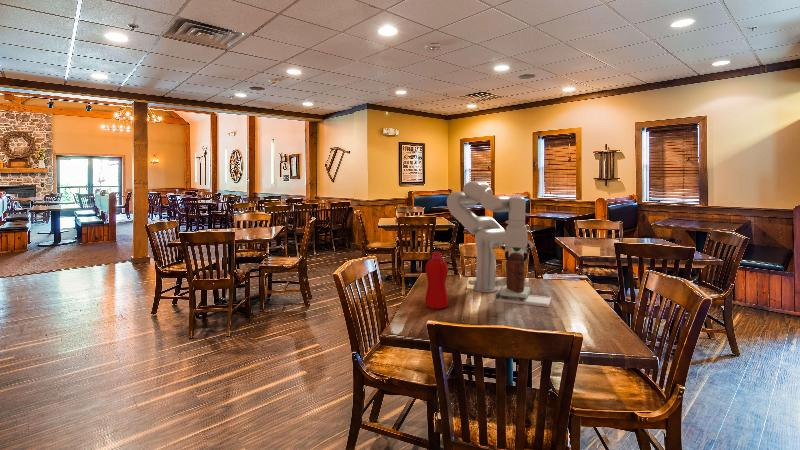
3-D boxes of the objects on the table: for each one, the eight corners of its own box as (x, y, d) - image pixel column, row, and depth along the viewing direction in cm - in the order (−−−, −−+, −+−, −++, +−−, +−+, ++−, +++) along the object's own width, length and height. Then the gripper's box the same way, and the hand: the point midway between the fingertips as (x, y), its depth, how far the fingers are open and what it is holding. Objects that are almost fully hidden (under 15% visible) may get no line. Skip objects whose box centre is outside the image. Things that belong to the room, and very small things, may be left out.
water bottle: (435, 311, 195) (435, 255, 192) (422, 305, 205) (422, 251, 202) (452, 308, 199) (453, 253, 196) (439, 302, 209) (439, 249, 206)
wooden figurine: (528, 292, 208) (529, 254, 206) (516, 293, 206) (517, 255, 204) (514, 285, 219) (515, 249, 217) (502, 286, 217) (504, 250, 215)
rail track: (495, 300, 211) (495, 293, 210) (500, 294, 223) (500, 287, 222) (548, 306, 201) (548, 299, 201) (551, 299, 213) (551, 292, 213)
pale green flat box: (499, 298, 209) (499, 291, 209) (505, 291, 222) (505, 284, 222) (525, 301, 205) (526, 294, 204) (530, 293, 217) (530, 287, 217)
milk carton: (508, 278, 256) (508, 243, 254) (509, 274, 265) (510, 241, 262) (523, 279, 253) (524, 244, 251) (524, 275, 262) (525, 242, 259)
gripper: (496, 223, 209) (495, 260, 211) (534, 225, 202) (533, 263, 204) (499, 221, 216) (499, 257, 218) (537, 223, 209) (535, 260, 211)
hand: (515, 260), depth 211 cm, fingers closed on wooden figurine, 7 cm apart
